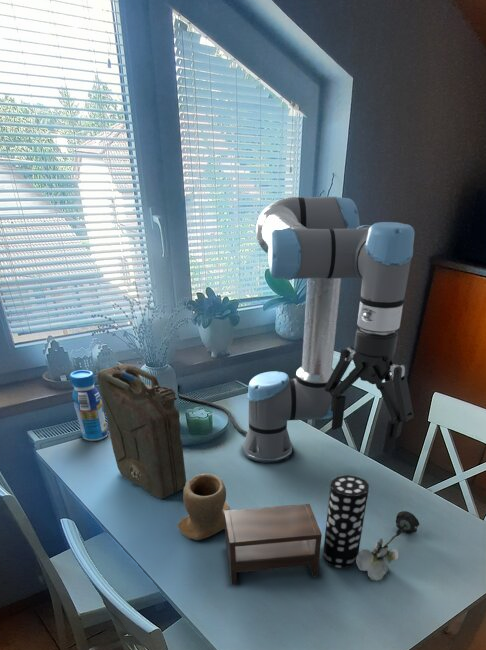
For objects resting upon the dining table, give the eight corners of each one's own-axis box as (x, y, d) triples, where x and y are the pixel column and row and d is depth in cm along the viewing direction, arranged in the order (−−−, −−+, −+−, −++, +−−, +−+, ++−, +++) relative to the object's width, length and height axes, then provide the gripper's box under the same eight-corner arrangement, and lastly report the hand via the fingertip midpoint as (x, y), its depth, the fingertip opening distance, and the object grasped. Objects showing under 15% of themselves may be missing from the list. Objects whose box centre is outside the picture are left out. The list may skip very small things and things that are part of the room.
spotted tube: (355, 570, 121) (367, 498, 107) (320, 565, 122) (328, 493, 109) (358, 548, 127) (370, 477, 113) (325, 543, 128) (332, 473, 115)
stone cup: (199, 551, 125) (194, 499, 115) (172, 528, 132) (165, 477, 121) (248, 527, 133) (247, 476, 122) (220, 507, 139) (217, 457, 129)
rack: (226, 551, 125) (223, 510, 117) (306, 544, 128) (309, 503, 120) (231, 584, 117) (229, 542, 108) (317, 575, 119) (321, 534, 111)
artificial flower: (421, 541, 132) (438, 517, 123) (371, 593, 121) (385, 570, 113) (394, 520, 134) (408, 495, 126) (342, 569, 123) (353, 545, 115)
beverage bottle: (76, 436, 167) (60, 374, 154) (97, 427, 172) (83, 366, 159) (93, 444, 164) (78, 381, 150) (114, 434, 169) (101, 373, 155)
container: (114, 473, 151) (91, 369, 131) (142, 461, 157) (125, 359, 136) (162, 503, 140) (146, 395, 120) (191, 489, 146) (180, 383, 125)
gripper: (312, 317, 97) (305, 423, 111) (424, 351, 84) (400, 467, 98) (338, 309, 101) (328, 413, 115) (449, 341, 88) (423, 454, 102)
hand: (361, 438), depth 106 cm, fingers open, 13 cm apart
